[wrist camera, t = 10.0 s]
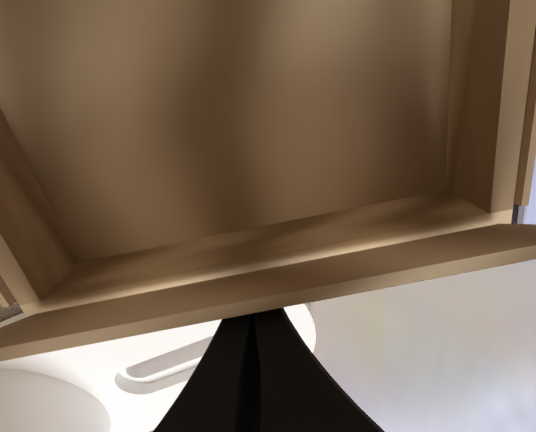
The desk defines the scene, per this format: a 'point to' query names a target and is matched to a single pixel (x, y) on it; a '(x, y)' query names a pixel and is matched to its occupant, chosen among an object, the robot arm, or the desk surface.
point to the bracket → (110, 379)
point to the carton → (250, 135)
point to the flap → (269, 289)
